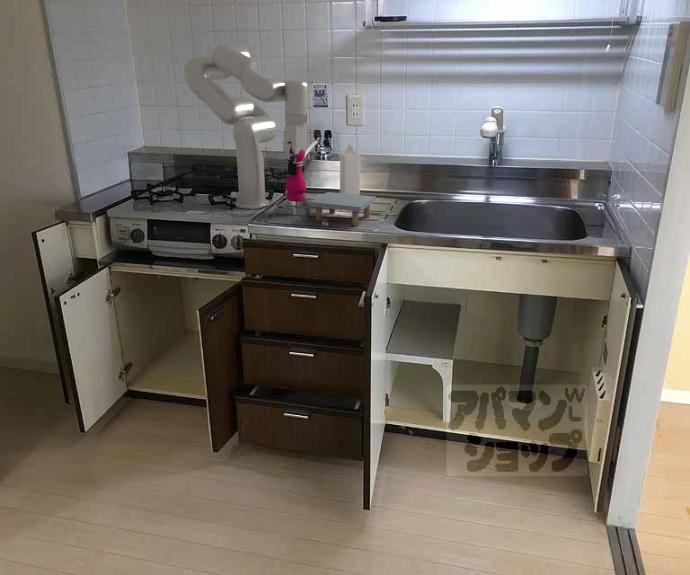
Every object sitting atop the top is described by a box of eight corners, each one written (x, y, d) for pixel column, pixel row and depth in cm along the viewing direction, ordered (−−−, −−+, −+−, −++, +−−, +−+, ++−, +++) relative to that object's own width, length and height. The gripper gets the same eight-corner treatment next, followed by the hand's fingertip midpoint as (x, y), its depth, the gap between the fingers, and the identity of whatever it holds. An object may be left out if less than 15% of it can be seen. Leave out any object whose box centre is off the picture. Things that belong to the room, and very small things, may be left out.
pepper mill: (303, 202, 208) (303, 144, 200) (282, 201, 209) (282, 142, 201) (308, 197, 214) (309, 140, 207) (288, 196, 216) (288, 139, 208)
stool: (309, 222, 203) (309, 201, 201) (327, 211, 217) (327, 191, 215) (360, 227, 198) (360, 207, 195) (375, 216, 212) (375, 196, 209)
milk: (344, 207, 223) (344, 146, 215) (339, 203, 229) (339, 144, 220) (359, 206, 225) (360, 146, 216) (354, 202, 230) (355, 143, 222)
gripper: (296, 115, 209) (296, 167, 217) (274, 121, 195) (275, 176, 202) (316, 117, 207) (315, 170, 214) (295, 123, 192) (295, 179, 199)
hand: (295, 172), depth 208 cm, fingers closed on pepper mill, 5 cm apart
